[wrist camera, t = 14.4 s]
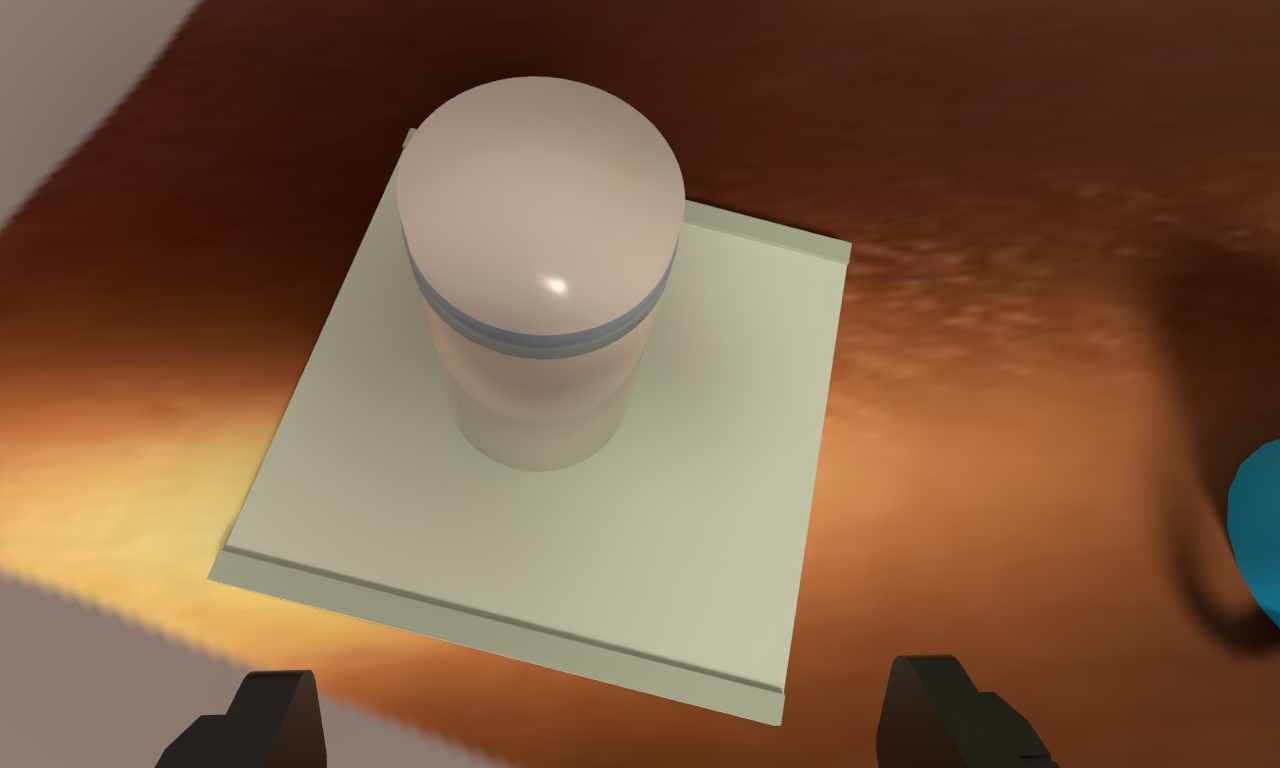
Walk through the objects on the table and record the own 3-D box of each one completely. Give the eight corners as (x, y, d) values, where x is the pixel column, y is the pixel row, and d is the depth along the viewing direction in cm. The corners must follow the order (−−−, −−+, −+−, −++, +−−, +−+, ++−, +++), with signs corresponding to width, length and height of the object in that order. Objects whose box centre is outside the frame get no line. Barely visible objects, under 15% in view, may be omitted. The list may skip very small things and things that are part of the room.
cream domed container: (629, 308, 26) (681, 85, 17) (631, 474, 24) (694, 322, 15) (453, 300, 25) (409, 64, 16) (438, 471, 23) (378, 309, 14)
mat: (843, 255, 28) (851, 243, 28) (772, 725, 22) (780, 725, 21) (414, 143, 28) (410, 127, 28) (218, 583, 22) (207, 578, 21)
